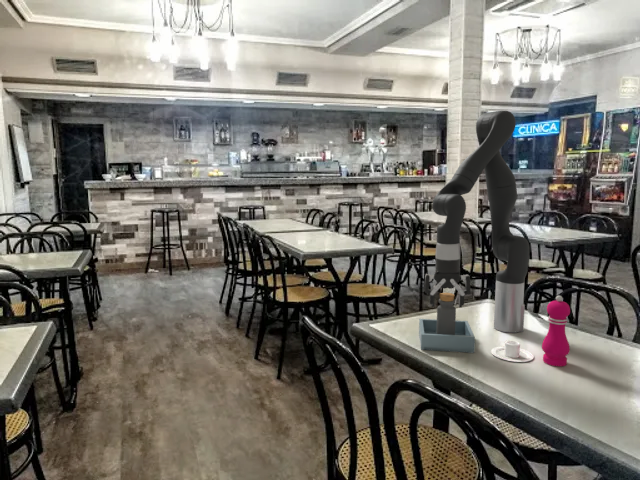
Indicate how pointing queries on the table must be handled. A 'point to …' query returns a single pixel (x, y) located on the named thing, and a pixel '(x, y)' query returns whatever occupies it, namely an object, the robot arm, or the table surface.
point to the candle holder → (512, 351)
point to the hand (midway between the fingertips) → (446, 306)
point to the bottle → (446, 314)
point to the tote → (446, 337)
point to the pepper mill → (556, 334)
